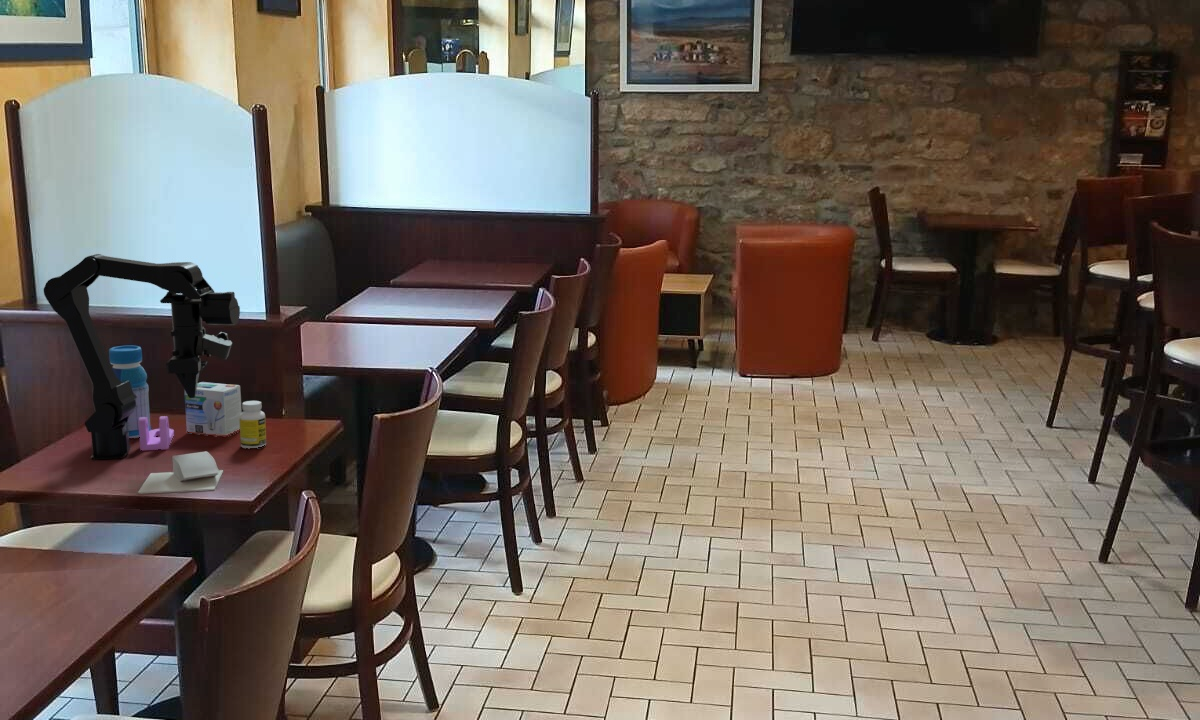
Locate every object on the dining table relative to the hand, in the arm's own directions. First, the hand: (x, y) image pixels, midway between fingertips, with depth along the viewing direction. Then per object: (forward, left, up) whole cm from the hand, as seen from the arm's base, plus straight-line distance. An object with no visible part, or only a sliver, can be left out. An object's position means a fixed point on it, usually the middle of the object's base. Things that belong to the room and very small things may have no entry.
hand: (192, 397), depth 240 cm
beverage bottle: (-17, +20, -13) cm, 29 cm away
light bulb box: (+1, +20, -13) cm, 24 cm away
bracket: (-10, +14, -13) cm, 22 cm away
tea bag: (+1, -11, -11) cm, 15 cm away
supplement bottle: (+11, +7, -13) cm, 19 cm away
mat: (0, -17, -13) cm, 21 cm away
